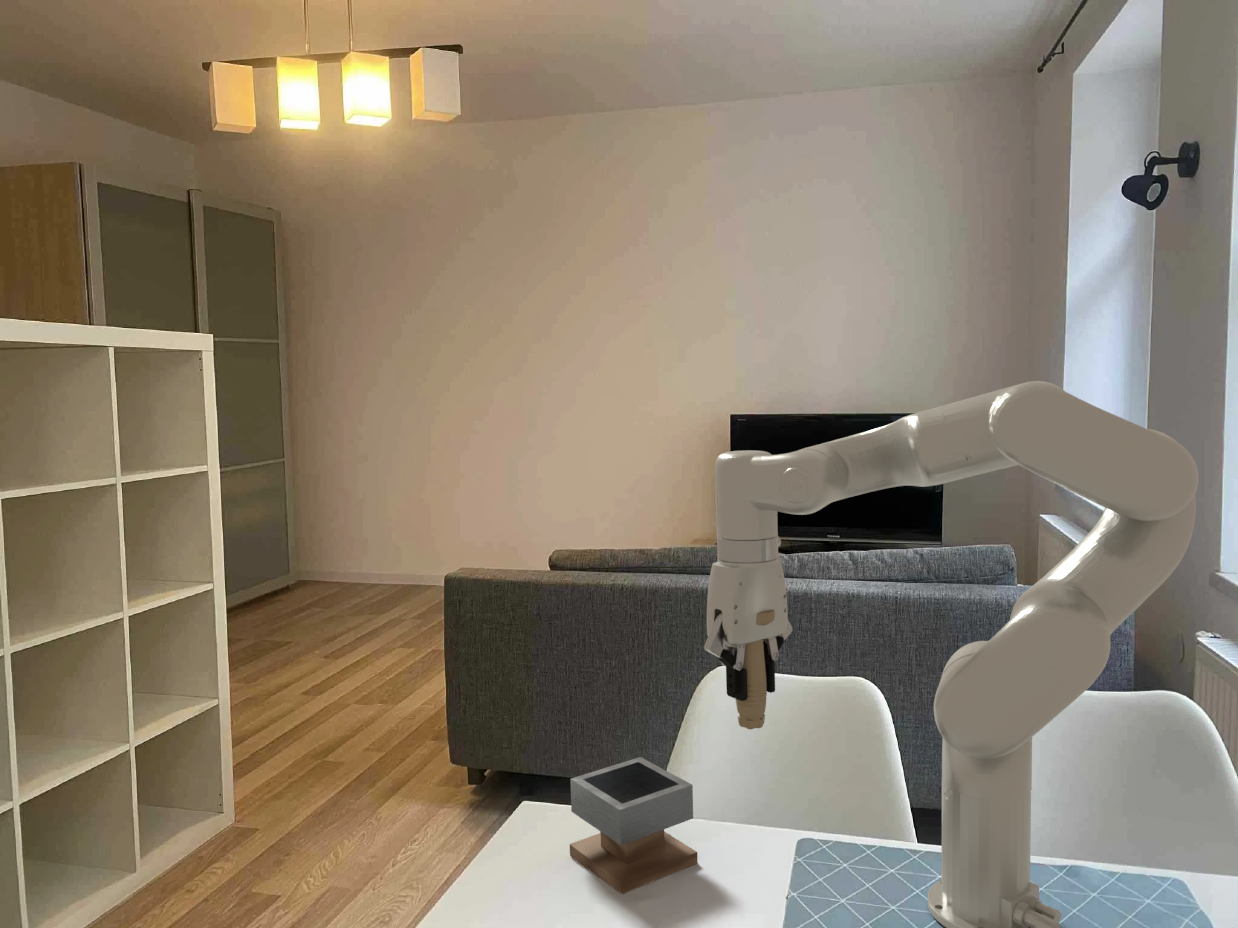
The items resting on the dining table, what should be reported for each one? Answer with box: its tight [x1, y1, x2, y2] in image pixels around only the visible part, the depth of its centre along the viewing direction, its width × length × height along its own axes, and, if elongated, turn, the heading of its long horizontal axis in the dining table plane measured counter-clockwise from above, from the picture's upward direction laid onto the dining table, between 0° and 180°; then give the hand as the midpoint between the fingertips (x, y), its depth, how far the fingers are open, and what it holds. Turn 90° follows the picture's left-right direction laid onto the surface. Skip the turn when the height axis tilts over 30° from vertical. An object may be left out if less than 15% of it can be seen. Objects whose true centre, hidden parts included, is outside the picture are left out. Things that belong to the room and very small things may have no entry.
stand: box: [569, 829, 699, 895], centre depth 122 cm, size 12×12×6 cm
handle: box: [735, 610, 775, 730], centre depth 117 cm, size 5×6×15 cm
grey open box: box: [569, 756, 694, 845], centre depth 122 cm, size 11×11×4 cm
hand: (750, 692), depth 118 cm, fingers closed on handle, 4 cm apart
